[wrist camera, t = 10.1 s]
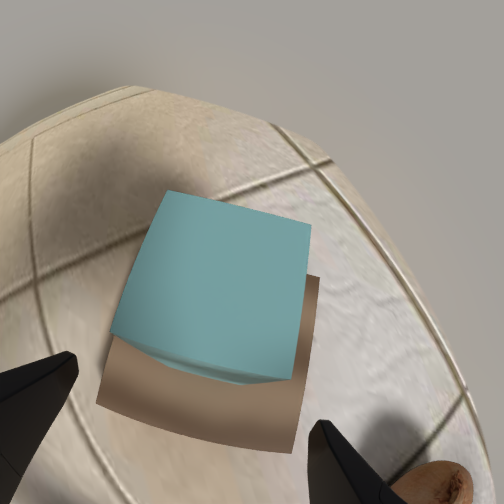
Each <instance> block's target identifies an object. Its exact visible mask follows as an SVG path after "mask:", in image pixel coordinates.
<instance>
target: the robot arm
mask: <svg viewBox="0 0 504 504" xmlns="http://www.w3.org/2000/svg"><path fill="white" fill-rule="evenodd" d="M78 374H79V368H78V362H77V357H76V355H75V354H73V353H71V352H69V351H64V352H61V353H58V354H56V355H53V356H50V357H47V358H44V359H41V360H38V361H35V362H32V363H29V364H26V365H23V366H20V367H17V368H14V369H11V370H8V371H5V372H2V373H0V504H10V502H11V499H12V497H13V495H14V493H15V491H16V489H17V487H18V485H19V483H20V481H21V479H22V477H23V475H24V473H25V471H26V469H27V467H28V465H29V463H30V461H31V460H32V458H33V456H34V454H35V452H36V451H37V449H38V447H39V445H40V444H41V442H42V440H43V438H44V437H45V435H46V433H47V432H48V430H49V428H50V427H51V425H52V423H53V422H54V420H55V418H56V417H57V415H58V413H59V412H60V410H61V409H62V407H63V405H64V403H65V401H66V399H67V397H68V395H69V393H70V391H71V389H72V387H73V385H74V383H75V381H76V379H77V377H78ZM307 473H308V486H309V499H310V504H408V503H407V502H405V501H404V500H403V499H402V498H401V497H400V496H398V495H397V494H396V493H395V492H394V491H393V490H392V489H391V488H390V487H389V486H388V485H387V484H386V483H385V482H384V481H383V480H382V479H381V477H380V476H379V475H378V474H377V473H376V472H375V471H374V470H373V469H372V468H371V467H370V466H369V464H368V463H367V462H366V461H365V460H364V459H363V458H362V457H361V456H360V454H359V453H358V452H357V451H356V450H355V449H354V448H353V447H352V445H351V444H350V443H349V442H348V441H347V440H346V439H345V437H344V436H343V435H342V434H341V433H340V432H339V431H338V429H337V428H336V427H335V426H334V425H333V424H332V422H331V421H329V420H321V419H320V420H318V421H317V422H316V424H315V425H314V427H313V428H312V430H311V431H310V433H309V438H308V464H307Z"/></svg>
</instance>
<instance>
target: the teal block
mask: <svg viewBox="0 0 504 504" xmlns="http://www.w3.org/2000/svg"><path fill="white" fill-rule="evenodd" d="M310 235H311V225H310V224H306V223H303V222H299V221H295V220H291V219H288V218H284V217H280V216H276V215H272V214H268V213H265V212H261V211H257V210H253V209H249V208H245V207H241V206H236V205H232V204H228V203H224V202H220V201H215V200H211V199H207V198H202V197H198V196H194V195H189V194H185V193H180V192H175V191H171V190H167V192H166V194H165V196H164V198H163V200H162V202H161V204H160V206H159V208H158V210H157V213H156V215H155V217H154V219H153V221H152V223H151V226H150V228H149V230H148V232H147V235H146V237H145V239H144V241H143V244H142V246H141V248H140V251H139V253H138V256H137V258H136V260H135V263H134V265H133V268H132V270H131V273H130V275H129V278H128V281H127V283H126V286H125V288H124V291H123V294H122V297H121V299H120V302H119V305H118V308H117V311H116V314H115V317H114V320H113V323H112V326H111V329H110V332H111V333H112V334H114V335H115V336H117V337H118V338H120V339H122V340H123V341H125V342H126V343H128V344H130V345H131V346H133V347H135V348H136V349H138V350H140V351H141V352H143V353H145V354H146V355H148V356H150V357H152V358H154V359H155V360H157V361H159V362H161V363H163V364H164V365H166V366H168V367H171V368H174V369H178V370H181V371H185V372H188V373H192V374H196V375H199V376H203V377H207V378H211V379H216V380H220V381H224V382H229V383H233V384H238V385H247V384H258V383H268V382H276V381H284V380H291V377H292V371H293V365H294V359H295V353H296V347H297V341H298V334H299V327H300V320H301V313H302V306H303V298H304V290H305V282H306V274H307V265H308V255H309V246H310Z"/></svg>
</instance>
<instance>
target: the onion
mask: <svg viewBox="0 0 504 504" xmlns="http://www.w3.org/2000/svg"><path fill="white" fill-rule="evenodd" d="M390 488H391V489H392V490H393V491H394V492H395V493H396V494H397V495H398V496H400V497H401V498H402V499H403V500H404V501H405V502H407V503H408V504H471V503H472V502H473V482H472V478H471V475H470V473H469V472H468V471H467V470H466V469H465V468H464V467H463V466H461V465H460V464H458V463H455V462H450V461H433V462H429V463H426V464H423V465H420V466H418V467H416V468H414V469H412V470H410V471H409V472H408V473H406V474H404V475H403V476H402V477H401V478H400V479H398V480H397V481H396V482H395V483H394V484H393V485H392V486H391V487H390Z"/></svg>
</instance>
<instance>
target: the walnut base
mask: <svg viewBox="0 0 504 504" xmlns="http://www.w3.org/2000/svg"><path fill="white" fill-rule="evenodd" d="M319 280H320V277H316V276H312V275H308V274H306V282H305V290H304V298H303V306H302V313H301V320H300V327H299V334H298V341H297V347H296V353H295V359H294V365H293V371H292V377H291V380H284V381H276V382H268V383H258V384H247V385H238V384H233V383H229V382H224V381H220V380H216V379H211V378H207V377H203V376H199V375H196V374H192V373H188V372H185V371H181V370H178V369H174V368H171V367H168V366H166V365H164V364H163V363H161V362H159V361H157V360H155V359H154V358H152V357H150V356H148V355H146V354H145V353H143V352H141V351H140V350H138V349H136V348H135V347H133V346H131V345H130V344H128V343H126V342H125V341H123V340H122V339H120V338H118V337H117V336H115V335H114V338H113V341H112V344H111V348H110V351H109V354H108V358H107V361H106V365H105V368H104V372H103V376H102V380H101V383H100V387H99V391H98V396H97V400H96V404H98V405H100V406H103V407H105V408H107V409H109V410H112V411H114V412H117V413H119V414H121V415H124V416H127V417H129V418H132V419H134V420H137V421H140V422H143V423H146V424H148V425H151V426H154V427H158V428H161V429H164V430H167V431H170V432H174V433H177V434H181V435H185V436H188V437H192V438H196V439H200V440H205V441H209V442H213V443H218V444H223V445H228V446H234V447H240V448H246V449H253V450H260V451H268V452H277V453H289V454H291V453H292V449H293V445H294V440H295V435H296V431H297V426H298V421H299V416H300V411H301V406H302V401H303V395H304V390H305V384H306V378H307V372H308V366H309V360H310V353H311V346H312V339H313V332H314V324H315V316H316V308H317V299H318V290H319Z"/></svg>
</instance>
